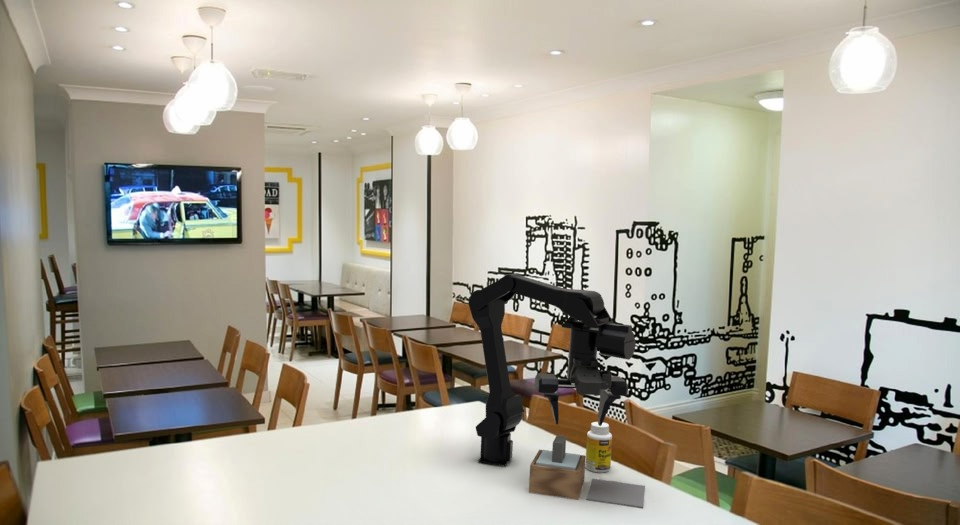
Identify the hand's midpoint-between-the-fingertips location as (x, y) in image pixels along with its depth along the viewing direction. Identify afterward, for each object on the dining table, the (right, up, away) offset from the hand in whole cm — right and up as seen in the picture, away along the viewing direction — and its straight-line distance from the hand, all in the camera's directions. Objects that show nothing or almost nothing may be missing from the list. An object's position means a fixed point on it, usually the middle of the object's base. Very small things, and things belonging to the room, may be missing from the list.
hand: (578, 424), depth 138 cm
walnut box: (-4, -13, -1) cm, 13 cm away
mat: (+7, -13, -4) cm, 15 cm away
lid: (-4, -8, -2) cm, 9 cm away
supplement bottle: (+6, -13, +10) cm, 17 cm away
